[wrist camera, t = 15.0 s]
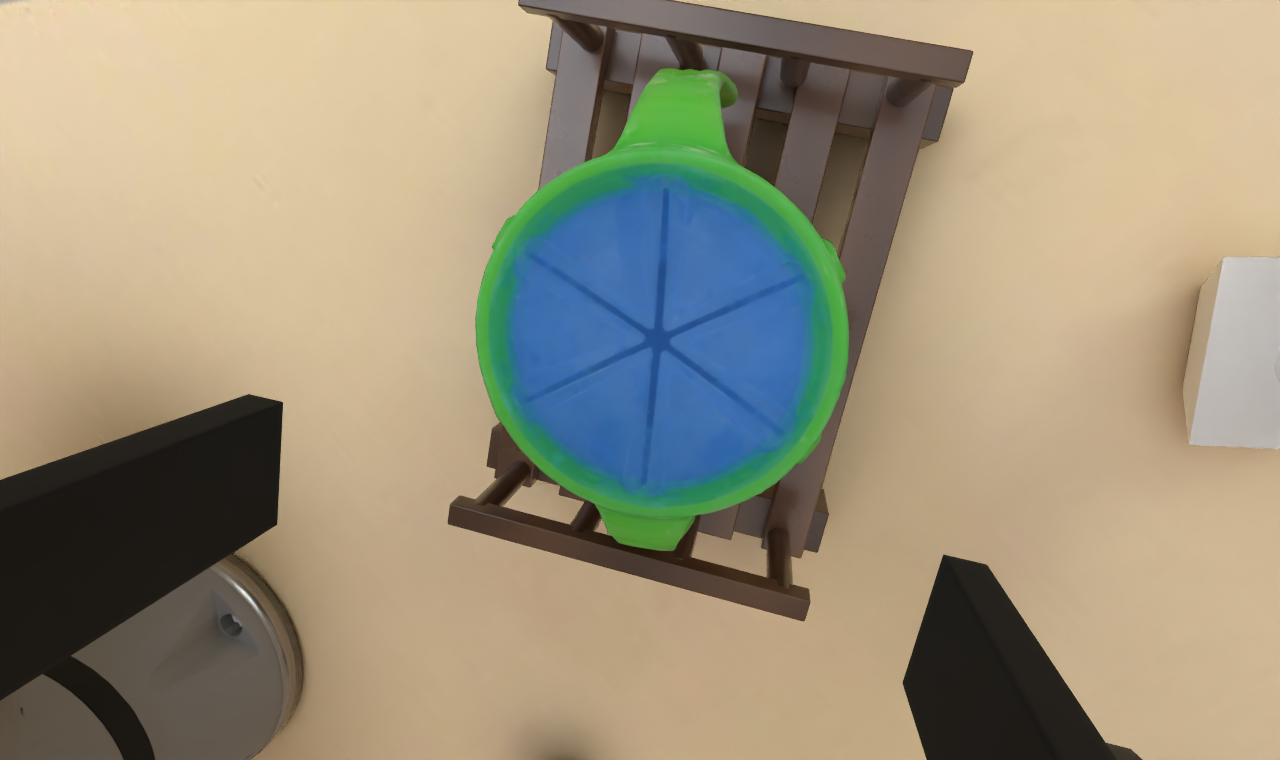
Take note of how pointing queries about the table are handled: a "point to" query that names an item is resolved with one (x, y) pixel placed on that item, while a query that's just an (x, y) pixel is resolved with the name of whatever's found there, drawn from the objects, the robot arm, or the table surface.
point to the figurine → (1236, 357)
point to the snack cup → (663, 322)
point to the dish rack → (814, 110)
